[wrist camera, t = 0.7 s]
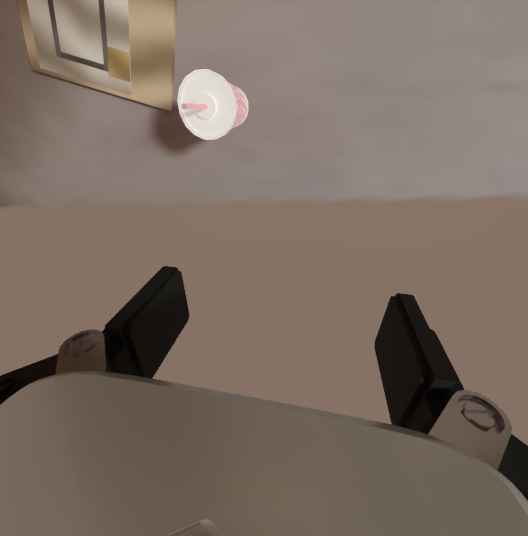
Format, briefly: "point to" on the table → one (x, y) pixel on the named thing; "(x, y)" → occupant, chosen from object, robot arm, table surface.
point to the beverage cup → (210, 104)
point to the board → (105, 45)
